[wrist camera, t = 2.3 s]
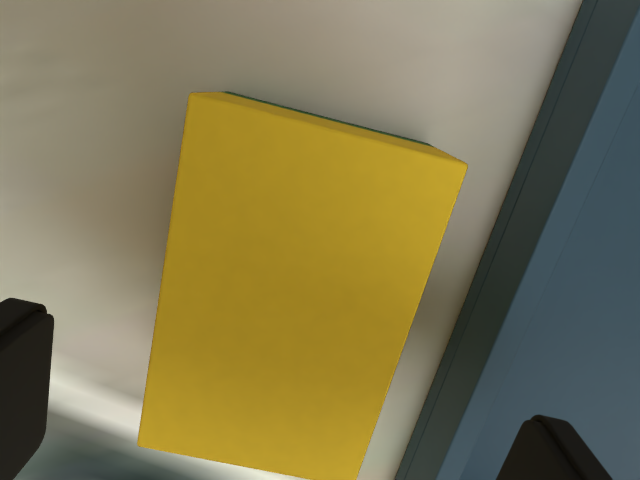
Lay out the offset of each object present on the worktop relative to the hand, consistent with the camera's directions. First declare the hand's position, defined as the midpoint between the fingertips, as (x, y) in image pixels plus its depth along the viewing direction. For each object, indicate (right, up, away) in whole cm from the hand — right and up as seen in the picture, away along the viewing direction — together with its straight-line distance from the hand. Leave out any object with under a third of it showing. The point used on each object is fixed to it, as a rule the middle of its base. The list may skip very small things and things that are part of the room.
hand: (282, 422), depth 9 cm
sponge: (0, +3, +7) cm, 7 cm away
